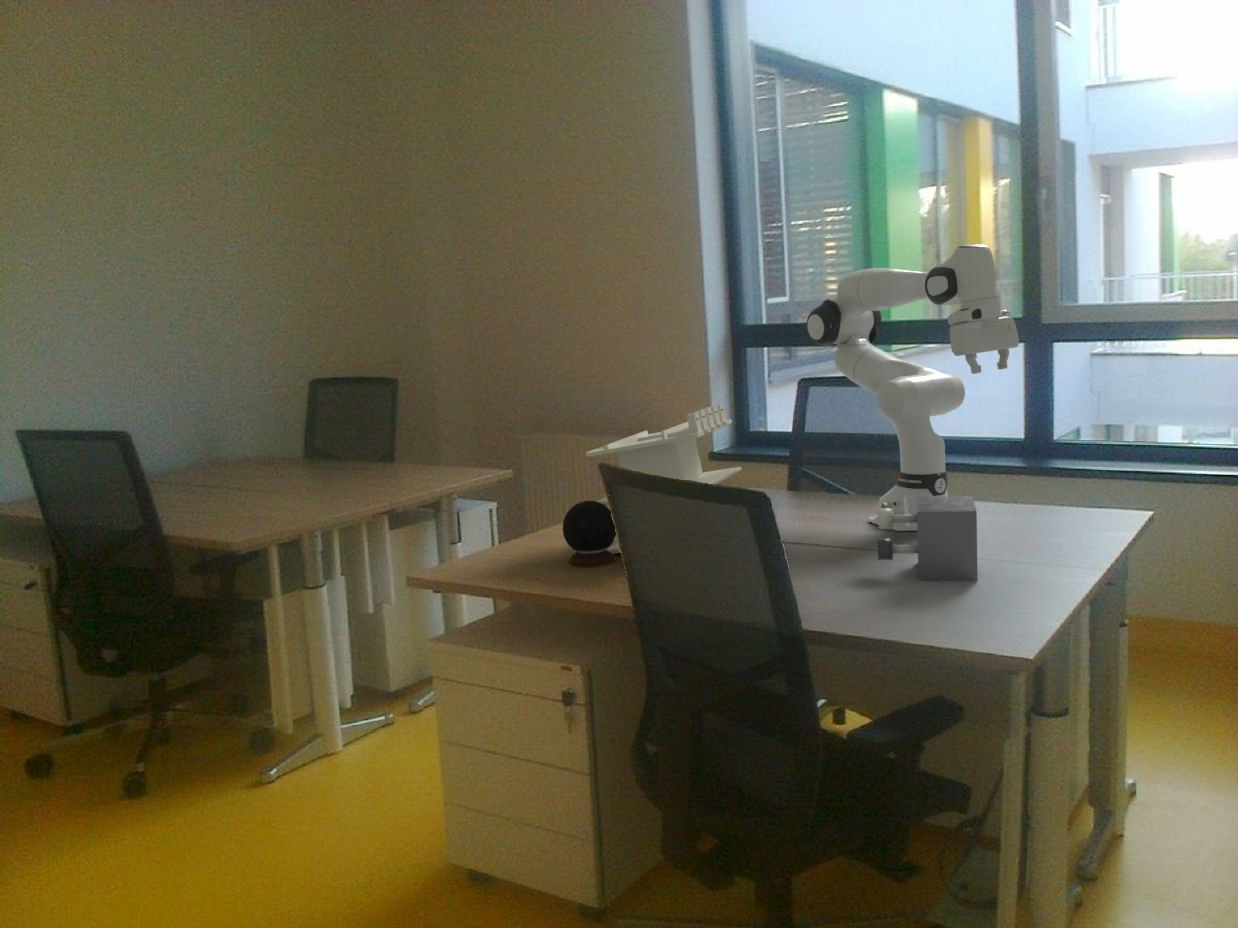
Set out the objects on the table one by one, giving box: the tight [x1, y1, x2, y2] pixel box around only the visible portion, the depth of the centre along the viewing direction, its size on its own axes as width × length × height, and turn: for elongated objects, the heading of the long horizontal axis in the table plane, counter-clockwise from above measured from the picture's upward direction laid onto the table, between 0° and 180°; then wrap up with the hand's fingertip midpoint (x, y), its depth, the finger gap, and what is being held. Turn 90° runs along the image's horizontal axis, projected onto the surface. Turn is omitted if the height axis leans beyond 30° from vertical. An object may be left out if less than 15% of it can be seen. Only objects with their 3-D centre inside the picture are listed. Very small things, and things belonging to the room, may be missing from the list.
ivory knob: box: [877, 508, 917, 530], centre depth 257 cm, size 10×5×5 cm, turn 76°
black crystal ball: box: [562, 500, 617, 568], centre depth 281 cm, size 13×13×15 cm
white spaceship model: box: [585, 403, 743, 555], centre depth 292 cm, size 26×31×35 cm
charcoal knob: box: [877, 537, 918, 561], centre depth 250 cm, size 10×5×5 cm, turn 76°
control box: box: [916, 495, 978, 582], centre depth 251 cm, size 12×16×15 cm
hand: (989, 371), depth 271 cm, fingers open, 8 cm apart
